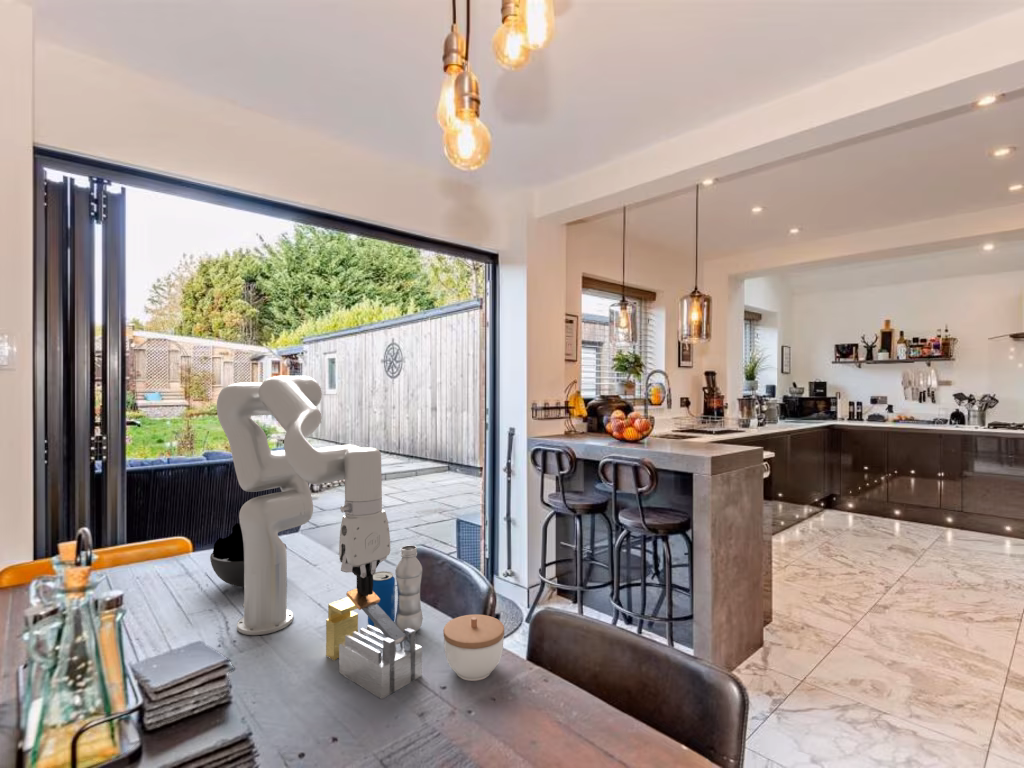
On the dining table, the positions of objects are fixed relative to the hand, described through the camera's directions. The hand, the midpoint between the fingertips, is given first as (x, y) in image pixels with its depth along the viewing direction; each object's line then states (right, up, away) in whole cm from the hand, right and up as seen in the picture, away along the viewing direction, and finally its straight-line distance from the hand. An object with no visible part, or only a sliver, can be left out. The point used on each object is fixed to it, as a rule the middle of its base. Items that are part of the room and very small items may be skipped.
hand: (365, 593), depth 111 cm
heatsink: (+4, -15, -3) cm, 16 cm away
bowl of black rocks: (-46, -15, +43) cm, 65 cm away
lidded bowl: (+23, -16, -2) cm, 28 cm away
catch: (-7, -15, +5) cm, 17 cm away
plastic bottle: (+6, -15, +16) cm, 23 cm away
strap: (+3, -4, -3) cm, 6 cm away
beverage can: (-1, -15, +19) cm, 24 cm away
